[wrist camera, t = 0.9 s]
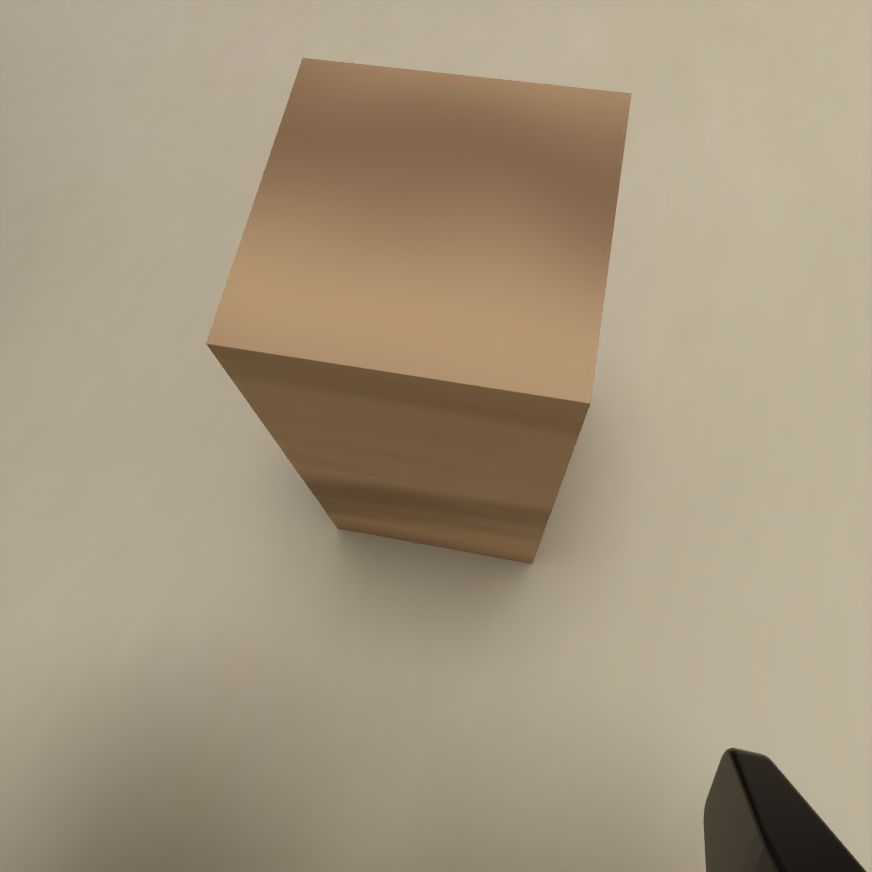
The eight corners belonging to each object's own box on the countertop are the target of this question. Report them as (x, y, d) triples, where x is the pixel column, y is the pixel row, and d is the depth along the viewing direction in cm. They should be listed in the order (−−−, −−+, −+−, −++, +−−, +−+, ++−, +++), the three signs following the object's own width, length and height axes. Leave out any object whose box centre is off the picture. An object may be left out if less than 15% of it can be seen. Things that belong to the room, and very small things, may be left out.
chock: (531, 563, 22) (589, 403, 11) (337, 528, 23) (206, 344, 12) (559, 383, 24) (631, 93, 13) (380, 355, 25) (303, 58, 14)
